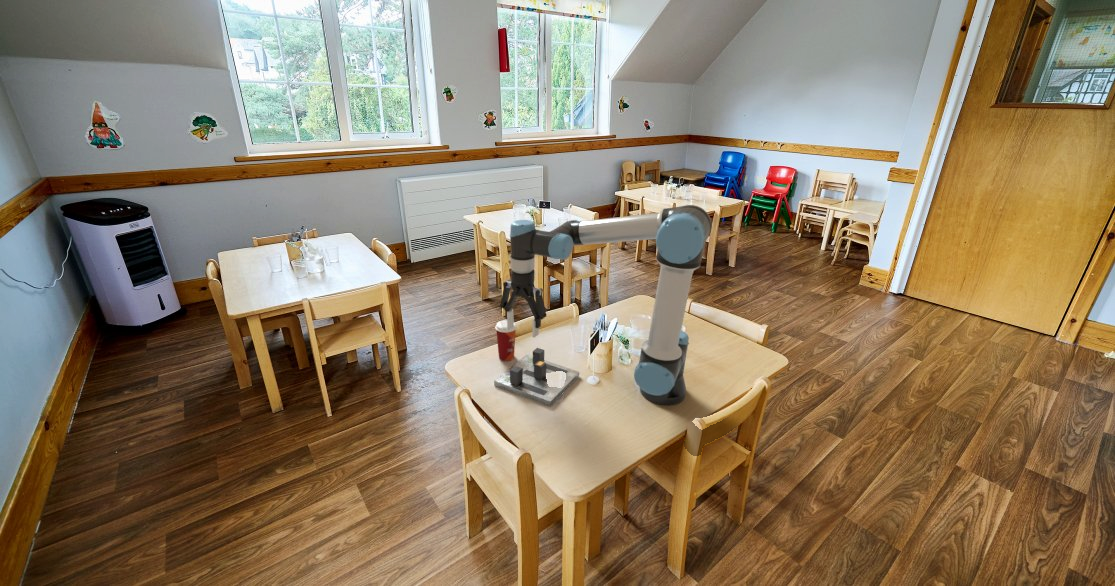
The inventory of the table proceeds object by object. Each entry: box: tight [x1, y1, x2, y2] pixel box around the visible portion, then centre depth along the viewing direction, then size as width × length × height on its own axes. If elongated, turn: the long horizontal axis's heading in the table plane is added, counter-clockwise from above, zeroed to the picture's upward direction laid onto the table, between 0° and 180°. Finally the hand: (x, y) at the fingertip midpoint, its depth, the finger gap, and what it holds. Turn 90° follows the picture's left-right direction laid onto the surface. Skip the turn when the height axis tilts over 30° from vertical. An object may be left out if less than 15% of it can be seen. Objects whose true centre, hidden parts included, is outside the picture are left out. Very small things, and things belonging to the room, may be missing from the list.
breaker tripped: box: [534, 361, 546, 380], centre depth 160 cm, size 3×3×5 cm
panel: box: [493, 353, 580, 408], centre depth 162 cm, size 22×20×2 cm
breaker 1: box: [510, 366, 523, 385], centre depth 157 cm, size 3×3×5 cm
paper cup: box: [494, 319, 517, 362], centre depth 173 cm, size 8×8×14 cm
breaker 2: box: [532, 347, 545, 364], centre depth 168 cm, size 3×3×5 cm
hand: (522, 331), depth 158 cm, fingers open, 9 cm apart
